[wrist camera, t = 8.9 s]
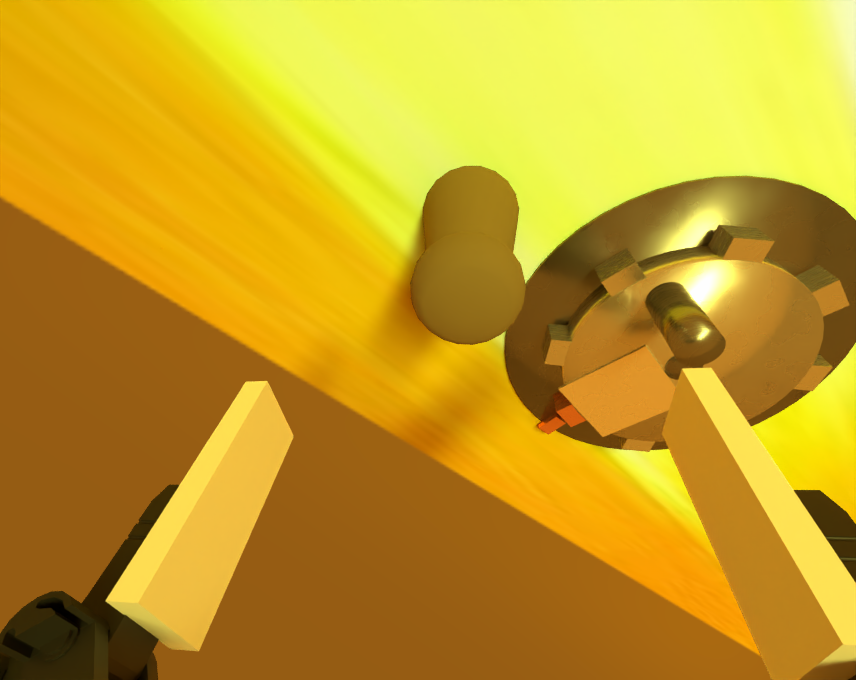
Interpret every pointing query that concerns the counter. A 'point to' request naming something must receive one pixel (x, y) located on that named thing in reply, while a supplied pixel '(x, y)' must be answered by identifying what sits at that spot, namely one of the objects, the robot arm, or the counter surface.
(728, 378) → the sprocket
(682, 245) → the plate
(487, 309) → the pepper mill
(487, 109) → the counter surface
